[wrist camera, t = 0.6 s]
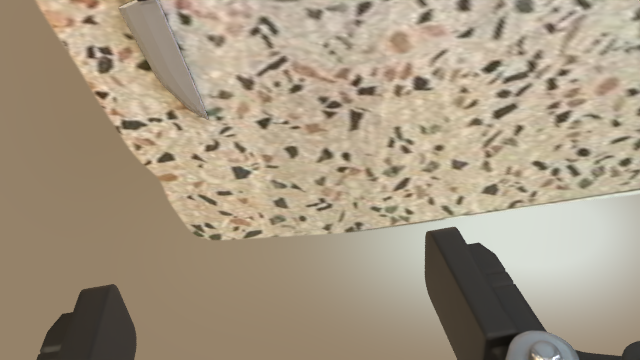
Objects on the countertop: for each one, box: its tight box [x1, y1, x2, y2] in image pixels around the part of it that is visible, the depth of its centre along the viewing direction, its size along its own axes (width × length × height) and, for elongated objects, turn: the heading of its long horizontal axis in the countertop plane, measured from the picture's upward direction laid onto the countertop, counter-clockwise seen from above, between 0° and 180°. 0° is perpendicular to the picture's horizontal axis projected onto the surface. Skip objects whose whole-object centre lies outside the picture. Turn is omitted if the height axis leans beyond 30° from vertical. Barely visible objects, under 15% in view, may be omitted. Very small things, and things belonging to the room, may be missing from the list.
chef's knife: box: [118, 0, 209, 120], centre depth 39 cm, size 19×1×3 cm
